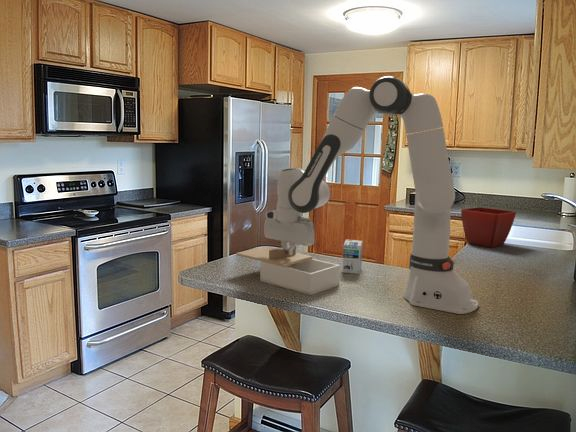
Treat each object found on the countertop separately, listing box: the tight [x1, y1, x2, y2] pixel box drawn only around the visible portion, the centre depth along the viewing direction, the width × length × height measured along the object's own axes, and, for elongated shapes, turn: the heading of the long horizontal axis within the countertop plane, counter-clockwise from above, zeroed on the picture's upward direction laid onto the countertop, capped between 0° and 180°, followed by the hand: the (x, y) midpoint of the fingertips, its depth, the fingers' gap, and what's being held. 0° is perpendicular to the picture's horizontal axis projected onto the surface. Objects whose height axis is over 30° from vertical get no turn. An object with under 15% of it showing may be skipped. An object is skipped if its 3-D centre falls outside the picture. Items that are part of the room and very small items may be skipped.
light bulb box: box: [341, 238, 364, 275], centre depth 190 cm, size 11×7×11 cm, turn 168°
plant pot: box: [460, 207, 517, 248], centre depth 245 cm, size 19×19×17 cm
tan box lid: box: [235, 246, 313, 267], centre depth 178 cm, size 22×16×4 cm
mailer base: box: [259, 258, 341, 296], centre depth 171 cm, size 22×16×7 cm
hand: (288, 254), depth 174 cm, fingers closed
